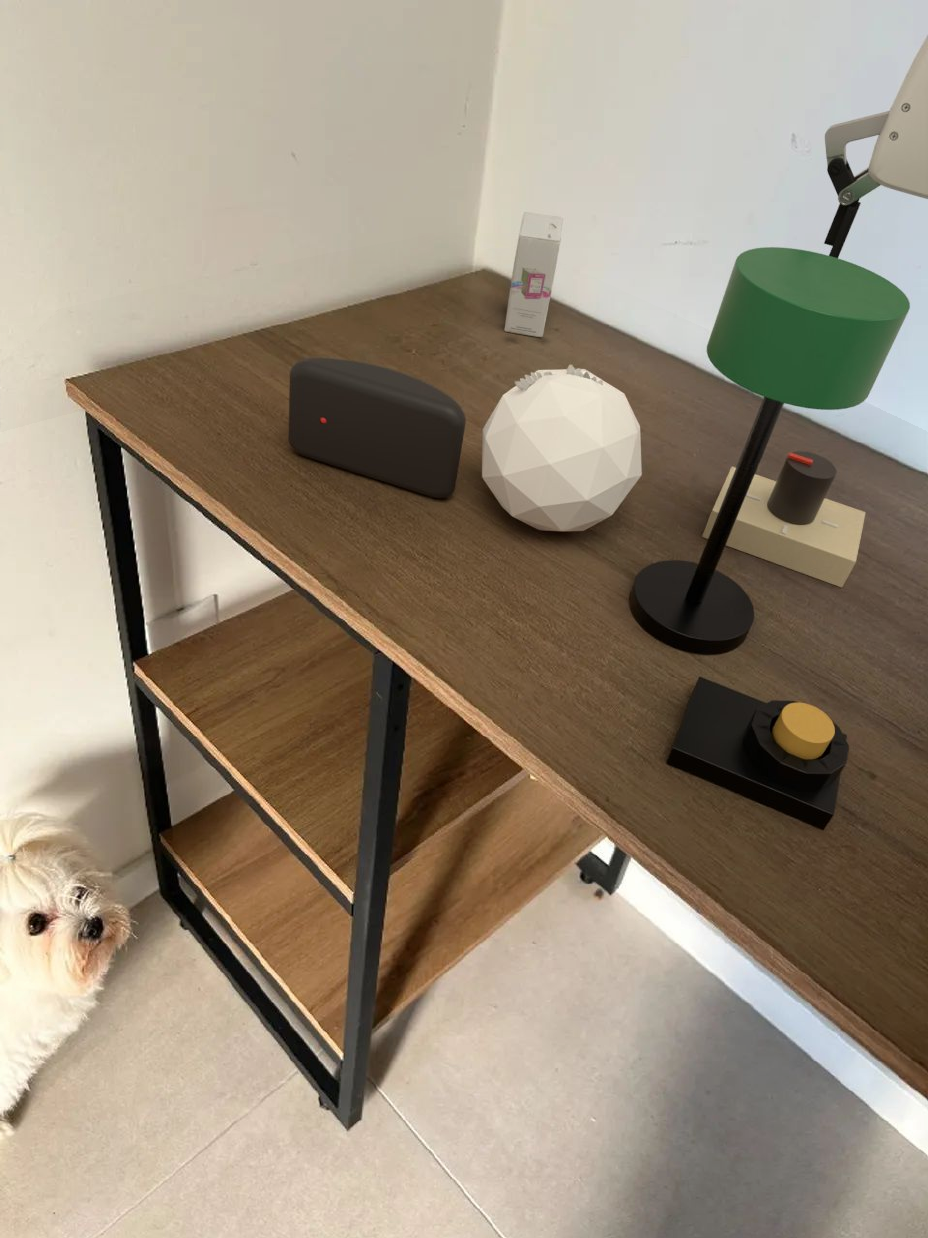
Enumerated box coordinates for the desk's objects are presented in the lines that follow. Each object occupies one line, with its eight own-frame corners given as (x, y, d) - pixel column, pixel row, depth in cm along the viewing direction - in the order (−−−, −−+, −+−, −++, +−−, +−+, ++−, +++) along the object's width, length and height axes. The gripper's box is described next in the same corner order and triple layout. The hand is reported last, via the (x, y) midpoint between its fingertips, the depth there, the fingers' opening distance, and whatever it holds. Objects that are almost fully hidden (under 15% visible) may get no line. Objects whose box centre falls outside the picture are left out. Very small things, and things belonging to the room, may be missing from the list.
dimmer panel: (852, 537, 89) (866, 510, 87) (842, 588, 83) (857, 560, 81) (721, 491, 92) (732, 464, 90) (701, 536, 85) (712, 508, 83)
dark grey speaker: (465, 482, 87) (481, 391, 80) (448, 507, 83) (463, 414, 77) (306, 432, 89) (310, 340, 83) (284, 455, 86) (286, 360, 79)
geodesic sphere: (455, 509, 73) (592, 379, 67) (421, 414, 83) (538, 295, 78) (572, 592, 82) (701, 483, 76) (529, 497, 92) (640, 396, 87)
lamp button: (827, 732, 64) (838, 715, 63) (821, 767, 62) (831, 750, 60) (776, 712, 65) (786, 694, 64) (768, 746, 62) (777, 728, 61)
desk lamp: (764, 600, 80) (915, 279, 61) (740, 678, 72) (904, 337, 53) (643, 555, 82) (753, 233, 64) (606, 625, 74) (719, 281, 56)
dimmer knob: (817, 507, 86) (841, 458, 83) (811, 530, 83) (835, 481, 80) (771, 491, 87) (792, 442, 84) (763, 513, 84) (784, 464, 81)
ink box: (506, 303, 119) (523, 208, 111) (545, 310, 119) (564, 215, 111) (501, 331, 112) (519, 232, 105) (542, 338, 112) (563, 240, 105)
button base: (837, 750, 67) (858, 718, 65) (823, 830, 62) (845, 798, 59) (692, 691, 70) (706, 658, 68) (665, 763, 64) (680, 730, 62)
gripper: (1151, 38, 61) (1011, 292, 72) (886, -22, 64) (792, 229, 76) (1167, 54, 55) (1012, 326, 67) (876, -13, 59) (777, 256, 70)
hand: (895, 274), depth 71 cm, fingers open, 9 cm apart
